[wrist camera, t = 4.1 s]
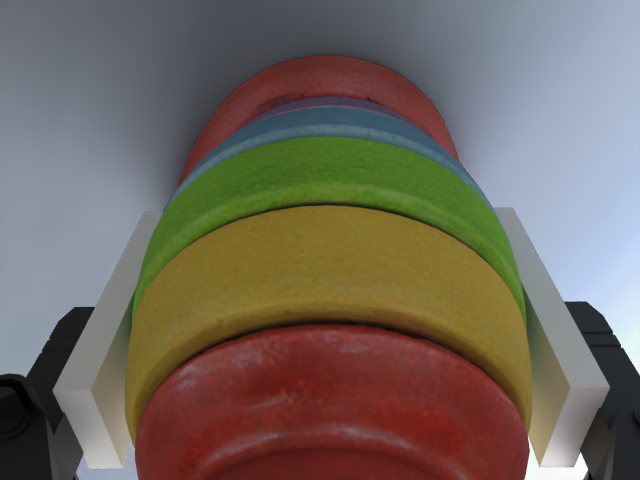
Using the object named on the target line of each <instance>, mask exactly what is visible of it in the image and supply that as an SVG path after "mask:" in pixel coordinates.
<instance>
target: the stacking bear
mask: <svg viewBox="0 0 640 480" xmlns="http://www.w3.org/2000/svg"><path fill="white" fill-rule="evenodd" d="M526 330H527V319H526V307H525V302H524V296H523V291H522V285H521V281H520V276H519V272H518V268H517V264H516V261H515V258H514V254H513V251H512V248H511V245H510V242H509V239H508V237H507V235H506V233H505V231H504V228H503V226H502V225H501V223H500V221H499V219H498V217H497V215H496V212H495V210H494V209H493V207H492V206H491V204H490V203H489V201H488V199H487V198H486V196H485V195H484V193H483V192H482V190H481V189H480V188H479V186H478V185H477V184H476V183H475V181H474V180H473V179H472V177H471V176H470V175H469V173H468V172H467V171H466V170H465V169H464V168H463V167H462V165H461V164H460V163H459V159H458V155H457V152H456V150H455V147H454V144H453V142H452V139H451V137H450V134H449V132H448V130H447V127H446V125H445V123H444V121H443V119H442V117H441V116H440V114H439V112H438V111H437V109H436V108H435V106H434V105H433V104H432V102H431V101H430V100H429V99H428V98H427V97H426V96H425V95H424V94H423V92H422V91H420V90H419V89H418V88H417V87H416V86H415V85H413V84H412V83H411V82H410V81H408V80H407V79H405V78H404V77H402V76H400V75H398V74H397V73H395V72H393V71H392V70H390V69H387V68H385V67H383V66H380V65H378V64H375V63H372V62H368V61H365V60H361V59H357V58H352V57H344V56H311V57H304V58H298V59H294V60H290V61H286V62H282V63H280V64H277V65H275V66H272V67H270V68H267V69H265V70H263V71H261V72H260V73H258V74H256V75H255V76H253V77H251V78H250V79H248V80H247V81H246V82H244V83H243V84H242V85H240V86H239V87H238V88H237V89H236V90H234V91H233V92H232V93H231V94H230V95H229V96H228V98H227V99H226V100H225V101H224V102H223V103H222V104H221V105H220V107H219V108H218V109H217V111H216V112H215V113H214V114H213V116H212V117H211V118H210V120H209V121H208V122H207V124H206V126H205V127H204V129H203V130H202V132H201V134H200V135H199V137H198V138H197V140H196V142H195V144H194V146H193V148H192V150H191V152H190V154H189V156H188V159H187V161H186V164H185V166H184V169H183V172H182V175H181V178H180V181H179V184H178V188H177V190H176V191H175V193H174V194H173V196H172V197H171V199H170V200H169V202H168V204H167V206H166V207H165V210H164V212H163V214H162V216H161V218H160V220H159V222H158V224H157V226H156V228H155V230H154V232H153V234H152V236H151V239H150V241H149V244H148V247H147V250H146V253H145V256H144V259H143V263H142V267H141V271H140V275H139V279H138V283H137V287H136V291H135V297H134V304H133V311H132V330H131V336H130V341H129V347H128V356H127V364H126V374H125V389H124V397H125V418H126V423H127V427H128V431H129V434H130V437H131V439H132V442H133V445H134V447H135V462H136V468H137V474H138V479H139V480H524V479H525V475H526V469H527V463H528V458H529V452H530V449H529V442H528V433H529V430H530V424H531V417H532V370H531V361H530V352H529V344H528V338H527V333H526Z"/></svg>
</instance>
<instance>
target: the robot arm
mask: <svg viewBox="0 0 640 480" xmlns="http://www.w3.org/2000/svg"><path fill="white" fill-rule="evenodd" d="M493 209H494V210H495V212H496V215H497V217H498V219H499V221H500V223H501V225H502V226H503V228H504V231H505V233H506V235H507V237H508V239H509V242H510V245H511V248H512V251H513V254H514V258H515V261H516V264H517V268H518V272H519V276H520V281H521V285H522V291H523V296H524V302H525V307H526V319H527V330H526V333H527V338H528V344H529V352H530V361H531V370H532V417H531V424H530V430H529V433H528V436H529V439H530V442H531V444H532V447H533V450H534V453H535V456H536V459H537V461H538V464H539V467H574V465H575V463H576V461H577V459H578V456H579V454H580V452H581V453H582V456H583V458H584V460H585V463H586V465H587V467H588V471H587V473H586V475H585V477H584V479H583V480H640V375H639V373H638V372H637V370H636V369H635V367H634V365H633V364H632V362H631V360H630V359H629V357H628V356H627V354H626V352H625V351H624V349H623V348H621V344H620V342H619V341H618V339H617V338H616V336H615V335H613V331H612V329H611V328H610V326H609V325H608V323H607V321H606V320H605V318H604V316H603V315H602V314H601V313H599V312H598V311H597V310H596V309H595V308H593V307H592V306H591V305H590V304H589V303H587V302H564V301H563V299H562V298H561V296H560V294H559V292H558V290H557V288H556V287H555V285H554V283H553V281H552V279H551V277H550V276H549V274H548V272H547V270H546V268H545V266H544V264H543V263H542V261H541V259H540V257H539V255H538V253H537V252H536V250H535V248H534V246H533V244H532V242H531V241H530V239H529V237H528V235H527V233H526V231H525V229H524V228H523V226H522V224H521V222H520V220H519V218H518V217H517V215H516V213H515V211H514V209H513V208H493ZM163 212H164V211H163ZM163 212H144V213H143V215H142V217H141V219H140V221H139V223H138V225H137V227H136V229H135V231H134V233H133V235H132V237H131V239H130V240H129V242H128V244H127V246H126V248H125V250H124V252H123V254H122V256H121V258H120V260H119V262H118V264H117V266H116V268H115V270H114V272H113V274H112V276H111V277H110V279H109V281H108V283H107V285H106V287H105V289H104V291H103V293H102V295H101V297H100V299H99V301H98V303H97V305H96V307H74V308H73V309H72V310H71V311H70V312H69V313H67V314H66V315H65V316H64V317H63V318H62V319H61V320H60V321H59V322H58V323H57V325H56V327H55V329H54V330H53V332H52V334H51V335H50V340H48V341H47V342H46V344H45V346H44V348H43V349H42V353H40V354H39V356H38V358H37V360H36V361H35V363H34V365H33V367H32V368H31V370H30V372H29V374H28V375H27V377H26V378H25V377H24V376H22V375H20V374H4V375H0V480H79V478H78V476H77V474H76V470H77V468H78V466H79V463H80V461H81V458H82V456H84V458H85V460H86V462H87V464H88V466H89V468H90V469H123V467H124V464H125V461H126V458H127V455H128V452H129V449H130V446H131V443H132V439H131V437H130V434H129V431H128V427H127V423H126V418H125V397H124V389H125V374H126V364H127V356H128V347H129V341H130V336H131V330H132V311H133V304H134V297H135V291H136V287H137V283H138V279H139V275H140V271H141V267H142V263H143V259H144V256H145V253H146V250H147V247H148V244H149V241H150V239H151V236H152V234H153V232H154V230H155V228H156V226H157V224H158V222H159V220H160V218H161V216H162V214H163Z"/></svg>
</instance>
